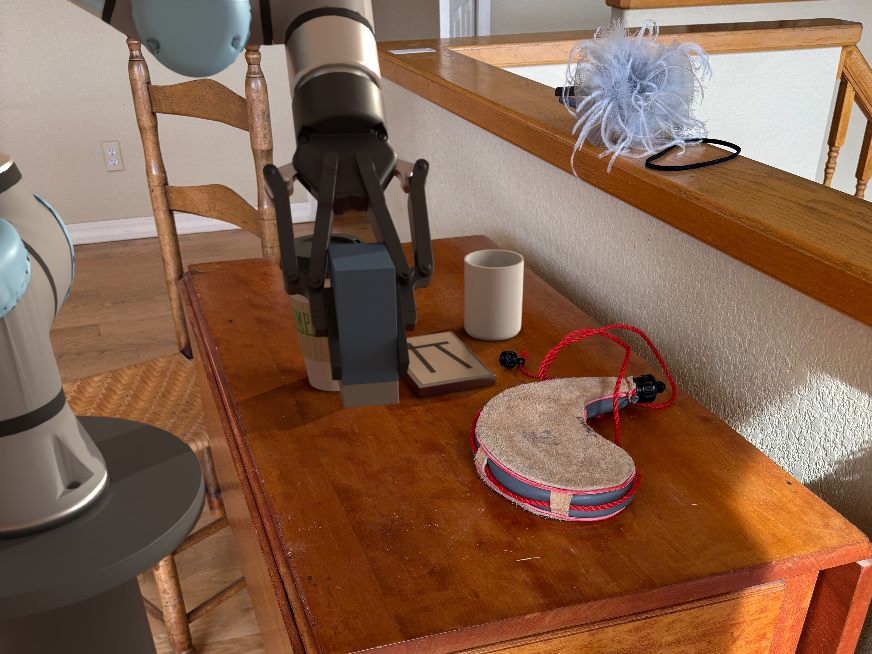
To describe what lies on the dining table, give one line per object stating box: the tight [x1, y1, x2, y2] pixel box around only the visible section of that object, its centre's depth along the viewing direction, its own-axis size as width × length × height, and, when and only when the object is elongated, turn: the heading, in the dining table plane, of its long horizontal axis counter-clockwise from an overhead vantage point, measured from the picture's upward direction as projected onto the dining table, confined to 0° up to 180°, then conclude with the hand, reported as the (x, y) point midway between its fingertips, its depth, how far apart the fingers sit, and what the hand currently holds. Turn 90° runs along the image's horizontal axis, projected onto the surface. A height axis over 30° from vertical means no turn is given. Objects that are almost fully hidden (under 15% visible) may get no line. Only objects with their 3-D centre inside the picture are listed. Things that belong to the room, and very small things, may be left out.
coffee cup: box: [278, 232, 366, 392], centre depth 101 cm, size 10×10×15 cm
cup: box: [463, 249, 525, 341], centre depth 116 cm, size 7×10×9 cm
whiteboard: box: [402, 330, 496, 398], centre depth 108 cm, size 9×14×1 cm, turn 21°
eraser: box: [328, 241, 400, 409], centre depth 74 cm, size 4×6×11 cm
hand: (370, 370), depth 73 cm, fingers closed on eraser, 4 cm apart
